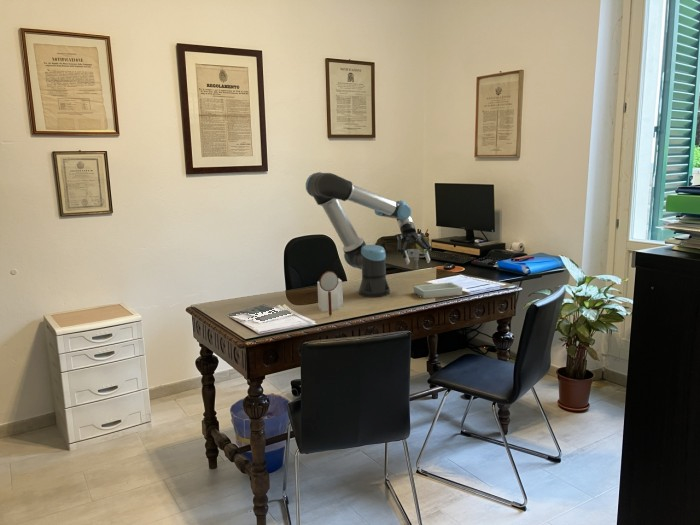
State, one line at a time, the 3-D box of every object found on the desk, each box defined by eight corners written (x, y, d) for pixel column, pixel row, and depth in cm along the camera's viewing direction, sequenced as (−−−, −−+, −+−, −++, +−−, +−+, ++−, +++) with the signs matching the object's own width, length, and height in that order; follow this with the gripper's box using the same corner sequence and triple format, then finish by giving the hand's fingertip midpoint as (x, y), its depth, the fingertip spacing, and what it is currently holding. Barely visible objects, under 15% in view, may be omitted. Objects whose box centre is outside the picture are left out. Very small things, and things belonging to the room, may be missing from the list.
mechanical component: (427, 269, 276) (427, 249, 274) (406, 269, 276) (406, 250, 275) (426, 268, 279) (426, 248, 277) (405, 268, 279) (405, 249, 278)
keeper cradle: (423, 298, 262) (423, 291, 261) (413, 293, 273) (413, 286, 272) (462, 294, 267) (462, 287, 266) (451, 289, 278) (451, 282, 278)
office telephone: (294, 310, 243) (256, 321, 229) (294, 316, 243) (257, 327, 230) (263, 301, 259) (225, 310, 246) (263, 306, 260) (226, 316, 246)
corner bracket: (339, 303, 260) (338, 278, 257) (345, 309, 249) (344, 283, 247) (317, 305, 257) (315, 280, 255) (322, 311, 246) (321, 285, 244)
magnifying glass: (338, 314, 240) (336, 269, 237) (340, 315, 239) (338, 270, 235) (320, 318, 237) (318, 272, 233) (322, 319, 235) (319, 272, 231)
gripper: (425, 230, 292) (437, 264, 280) (384, 232, 286) (395, 268, 274) (429, 221, 286) (442, 256, 274) (387, 223, 280) (398, 259, 268)
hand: (418, 262), depth 274 cm, fingers closed on mechanical component, 10 cm apart
